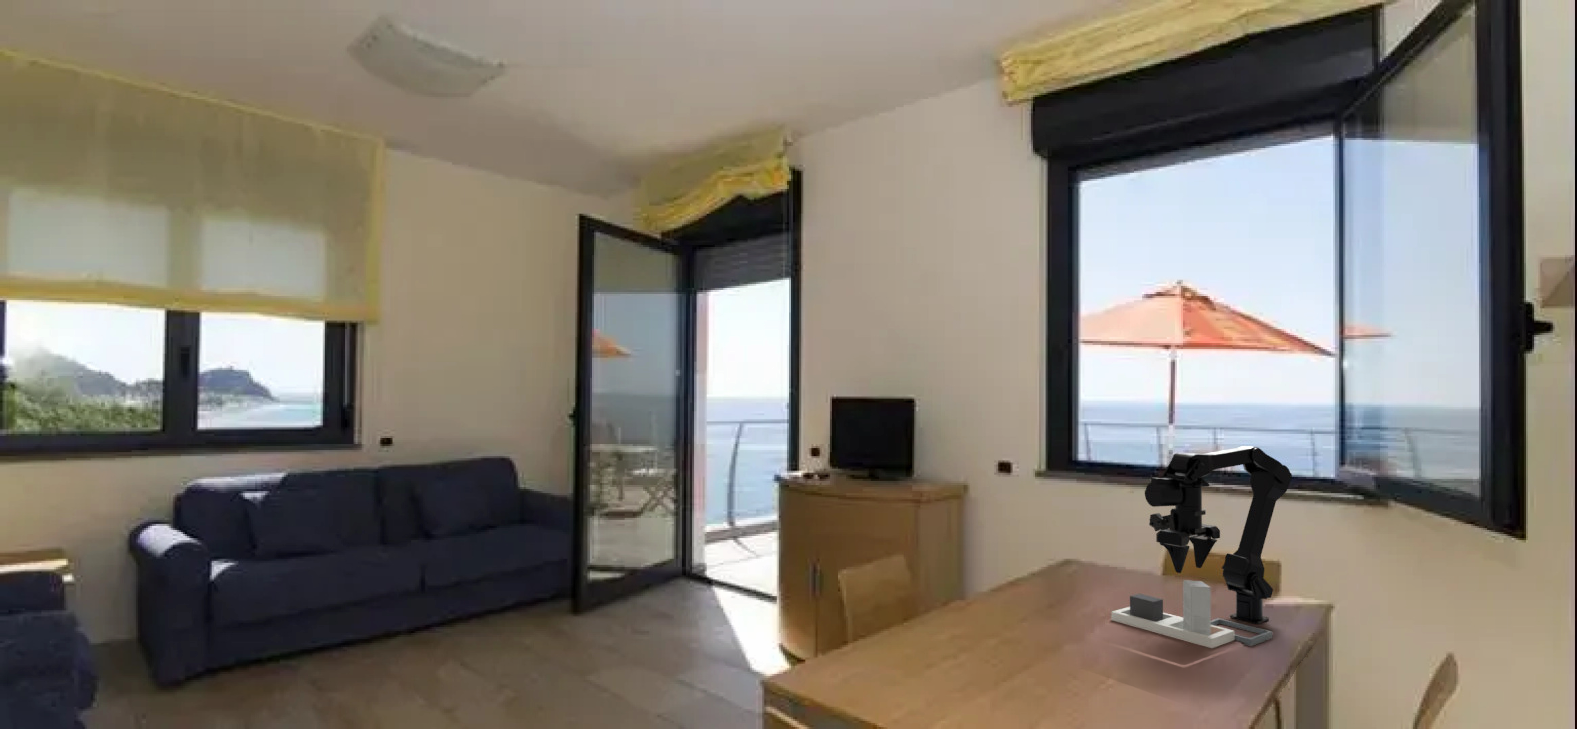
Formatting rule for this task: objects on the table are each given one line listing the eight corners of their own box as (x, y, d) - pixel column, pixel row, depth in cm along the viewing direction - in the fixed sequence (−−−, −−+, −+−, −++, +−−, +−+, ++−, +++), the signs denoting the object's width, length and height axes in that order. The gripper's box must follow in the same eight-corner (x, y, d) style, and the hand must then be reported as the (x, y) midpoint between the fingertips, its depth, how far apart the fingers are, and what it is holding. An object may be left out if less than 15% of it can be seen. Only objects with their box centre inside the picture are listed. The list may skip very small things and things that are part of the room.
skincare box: (1211, 641, 174) (1211, 587, 174) (1191, 640, 175) (1190, 586, 175) (1202, 632, 180) (1202, 580, 180) (1182, 631, 180) (1182, 579, 181)
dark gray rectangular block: (1139, 618, 191) (1139, 593, 191) (1163, 624, 186) (1162, 599, 186) (1130, 620, 188) (1129, 595, 188) (1153, 627, 183) (1153, 601, 184)
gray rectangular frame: (1218, 624, 188) (1218, 618, 188) (1272, 638, 178) (1272, 631, 178) (1196, 631, 182) (1196, 625, 182) (1251, 646, 172) (1251, 639, 172)
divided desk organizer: (1134, 615, 195) (1134, 605, 195) (1234, 641, 175) (1234, 630, 175) (1111, 621, 189) (1111, 611, 189) (1211, 650, 169) (1211, 638, 169)
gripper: (1176, 498, 200) (1176, 559, 200) (1135, 503, 190) (1135, 568, 189) (1221, 503, 191) (1221, 567, 191) (1180, 510, 180) (1180, 578, 180)
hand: (1188, 570), depth 188 cm, fingers open, 9 cm apart
